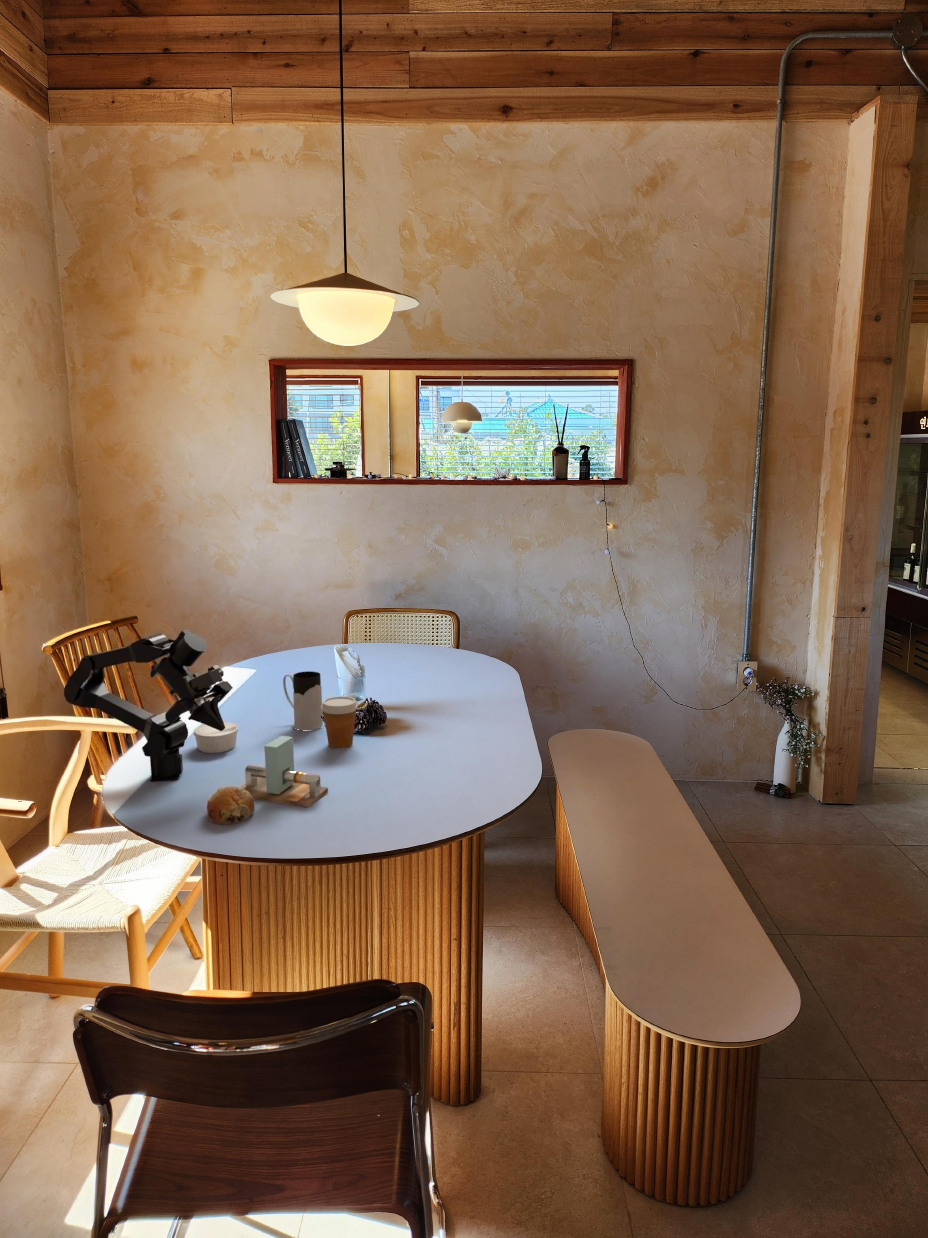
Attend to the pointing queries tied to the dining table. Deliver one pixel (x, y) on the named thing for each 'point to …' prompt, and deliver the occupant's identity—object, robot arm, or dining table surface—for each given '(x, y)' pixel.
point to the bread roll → (230, 805)
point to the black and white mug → (306, 700)
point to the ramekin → (216, 738)
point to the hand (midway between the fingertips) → (223, 729)
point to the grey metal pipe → (285, 778)
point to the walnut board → (285, 793)
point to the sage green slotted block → (278, 763)
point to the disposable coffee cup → (339, 721)
